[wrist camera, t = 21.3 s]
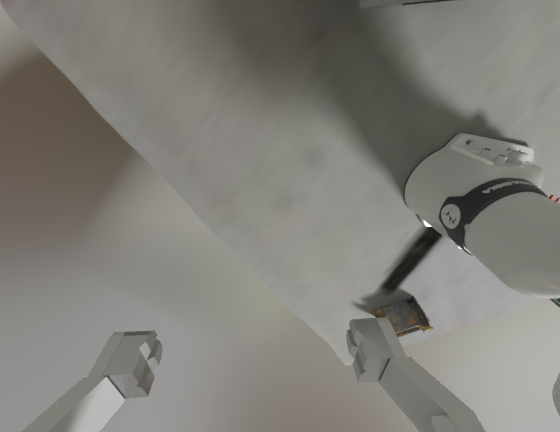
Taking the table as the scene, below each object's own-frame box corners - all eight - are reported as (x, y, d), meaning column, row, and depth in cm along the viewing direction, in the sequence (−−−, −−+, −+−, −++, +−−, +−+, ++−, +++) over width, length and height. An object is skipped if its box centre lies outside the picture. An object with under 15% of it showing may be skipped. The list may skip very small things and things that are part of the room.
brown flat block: (412, 294, 64) (434, 328, 56) (415, 300, 66) (436, 334, 58) (371, 309, 67) (387, 343, 58) (375, 314, 68) (390, 349, 60)
